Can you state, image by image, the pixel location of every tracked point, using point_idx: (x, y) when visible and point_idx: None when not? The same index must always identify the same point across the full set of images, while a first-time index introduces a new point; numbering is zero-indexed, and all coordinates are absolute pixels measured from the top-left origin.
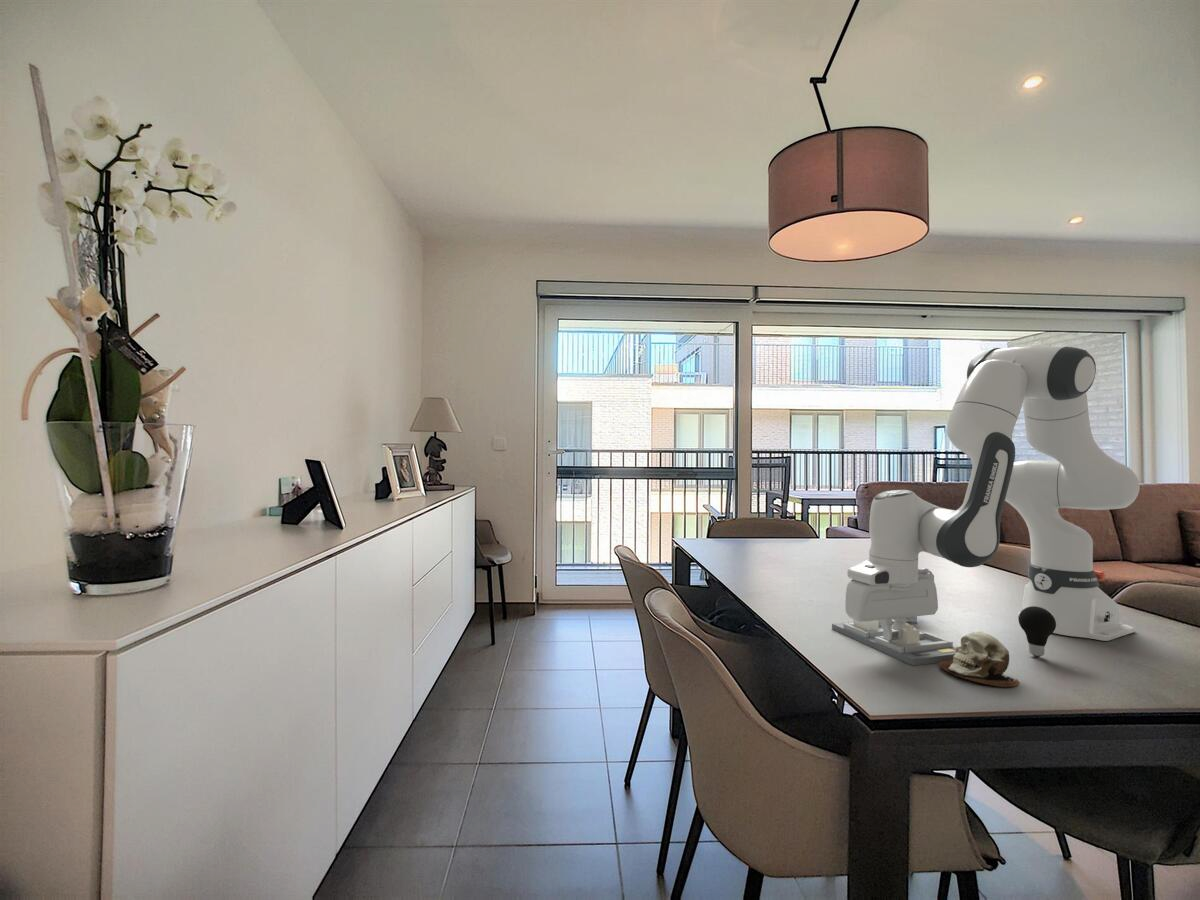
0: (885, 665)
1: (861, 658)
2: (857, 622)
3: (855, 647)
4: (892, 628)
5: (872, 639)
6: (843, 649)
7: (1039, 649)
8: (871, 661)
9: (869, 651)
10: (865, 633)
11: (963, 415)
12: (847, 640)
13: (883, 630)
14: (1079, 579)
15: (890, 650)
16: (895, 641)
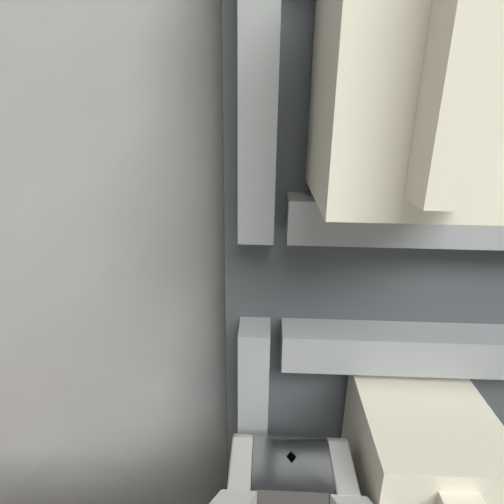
0: (100, 491)
1: (32, 400)
2: (324, 31)
3: (113, 256)
4: (329, 502)
5: (264, 275)
6: (4, 264)
7: None
8: (62, 442)
9: (157, 336)
10: (239, 235)
11: None
12: (152, 114)
13: (228, 482)
14: None
15: (227, 441)
16: (349, 405)
